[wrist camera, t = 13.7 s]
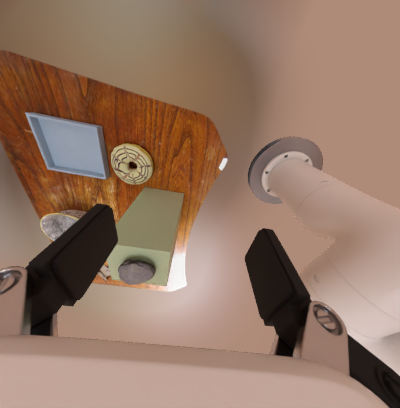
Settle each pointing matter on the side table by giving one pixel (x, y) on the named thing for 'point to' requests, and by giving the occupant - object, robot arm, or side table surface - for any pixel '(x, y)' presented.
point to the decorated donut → (123, 168)
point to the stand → (148, 233)
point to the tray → (70, 145)
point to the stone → (136, 271)
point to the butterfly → (104, 272)
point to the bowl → (59, 222)
